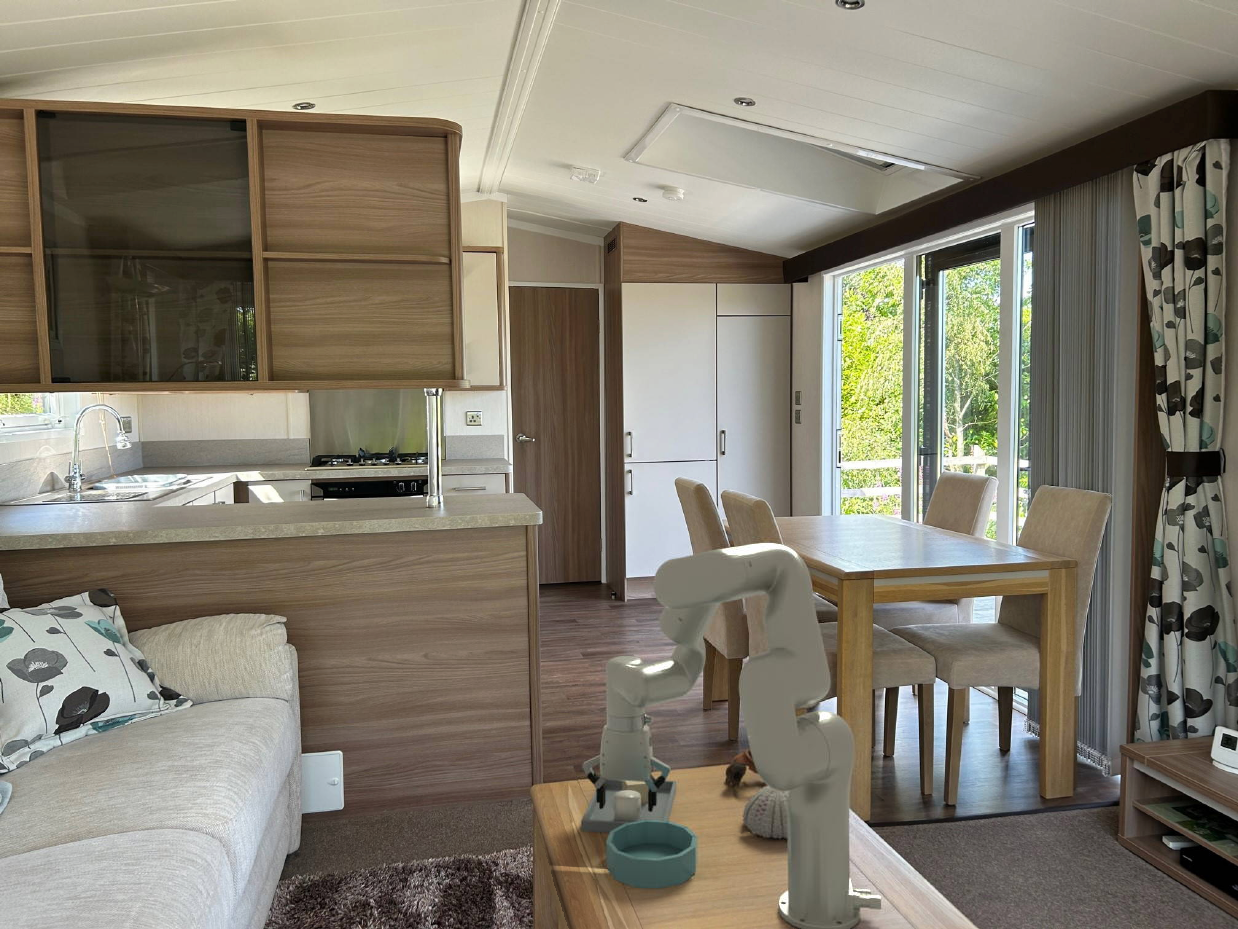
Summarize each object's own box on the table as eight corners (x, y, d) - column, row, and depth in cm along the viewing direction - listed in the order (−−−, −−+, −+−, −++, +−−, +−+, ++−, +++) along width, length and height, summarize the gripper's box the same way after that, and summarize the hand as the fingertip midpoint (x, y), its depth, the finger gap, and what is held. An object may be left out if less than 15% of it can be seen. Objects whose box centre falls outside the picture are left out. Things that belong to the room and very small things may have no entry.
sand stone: (642, 792, 190) (642, 773, 190) (648, 802, 184) (648, 783, 184) (622, 794, 189) (622, 775, 189) (627, 804, 184) (627, 785, 184)
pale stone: (642, 814, 179) (642, 791, 178) (638, 826, 173) (638, 801, 173) (616, 813, 179) (616, 789, 179) (612, 824, 174) (611, 800, 174)
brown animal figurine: (735, 774, 202) (754, 744, 201) (766, 803, 196) (785, 772, 195) (706, 776, 193) (725, 745, 192) (738, 807, 187) (758, 775, 186)
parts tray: (676, 792, 191) (676, 780, 191) (664, 838, 169) (664, 825, 169) (602, 789, 194) (602, 777, 193) (581, 834, 172) (581, 821, 172)
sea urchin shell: (728, 829, 173) (727, 787, 173) (773, 808, 182) (773, 769, 182) (783, 852, 163) (782, 808, 163) (828, 830, 172) (827, 788, 172)
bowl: (700, 848, 165) (699, 822, 165) (693, 891, 150) (692, 862, 149) (615, 843, 168) (615, 818, 167) (600, 885, 152) (600, 857, 152)
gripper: (671, 717, 178) (672, 802, 179) (586, 713, 181) (587, 797, 182) (667, 729, 171) (668, 818, 171) (578, 725, 174) (579, 813, 174)
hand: (626, 807), depth 177 cm, fingers open, 9 cm apart
